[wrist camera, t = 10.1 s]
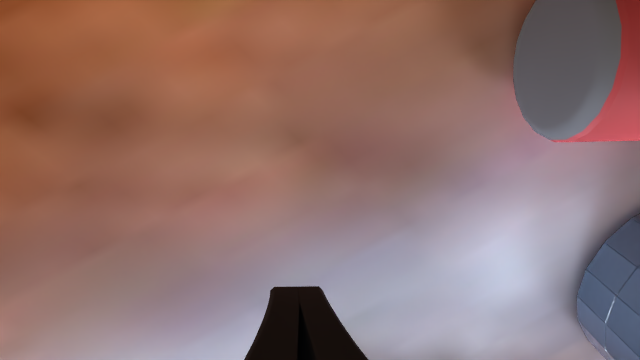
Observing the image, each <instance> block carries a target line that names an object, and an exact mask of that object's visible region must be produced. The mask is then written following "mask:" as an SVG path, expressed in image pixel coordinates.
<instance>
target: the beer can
mask: <svg viewBox="0 0 640 360" xmlns="http://www.w3.org/2000/svg"><path fill="white" fill-rule="evenodd" d="M513 82H514V89H515V95H516V100H517V102H518V105H519V107H520V110H521V112H522V115H523V117H524V119H525V120H526V121H527V122H528V124H529V125H530V126H531V127H532V129H533V130H534V131H535V132H536V133H538V134H540V135H541V136H543V137H545V138H547V139H549V140H551V141H553V142H594V141H637V140H640V0H536V1H535V3H534V4H533V6H532V8H531V9H530V11H529V13H528V15H527V17H526V18H525V20H524V22H523V25H522V28H521V31H520V34H519V37H518V40H517V45H516V50H515V56H514V67H513Z"/></svg>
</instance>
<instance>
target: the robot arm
mask: <svg viewBox="0 0 640 360" xmlns="http://www.w3.org/2000/svg"><path fill="white" fill-rule="evenodd" d="M244 360H368V359H367V357H366V356H365V355H364V354H363V352H362V351H361V350H360V349H359V347H358V346H357V345H356V343H355V342H354V341H353V339H352V338H351V336H350V335H349V333H348V332H347V331H346V329H345V328H344V326H343V325H342V323H341V322H340V320H339V319H338V317H337V315H336V314H335V312H334V311H333V309H332V307H331V306H330V304H329V302H328V300H327V298H326V296H325V294H324V292H323V290H322V289H321V288H320V287H319V286H318V287H274V288H273V289H272V290H270V298H269V303H268V306H267V310H266V313H265V315H264V318H263V321H262V323H261V326H260V328H259V330H258V333H257V335H256V337H255V340H254V342H253V344H252V346H251V348H250V350H249V351H248V353H247V355H246V357H245V359H244Z"/></svg>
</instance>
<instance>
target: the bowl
mask: <svg viewBox="0 0 640 360" xmlns="http://www.w3.org/2000/svg"><path fill="white" fill-rule="evenodd" d="M577 295H578V296H577V319H578V322H579V324H580V326H581V328H582V330H583V332H584V334H585V336H586V338H587V339H588V341H589V342H590V343H591V344H592V345H593V346H594V347H595V348H596V349H597V350H598V351H599V353H600V354H601V355H602V356H603V357H604V358H605V359H606V360H640V214H638V215H636V216H634V217H633V218H631V219H630V220H629V221H627V222H626V223H625V224H624V225H623V226H622V227H621V228H620V229H618V230H617V231H616V232H615V233H614V234H613V235H612V236H611V237H609V238H608V239H607V240H606V241H605V243H604V244H603V245H602V247H601V248H600V250H599V251H598V252H597V254H596V255H595V257H594V258H593V260H592V261H591V263H590V264H589V265H588V267H587V269H586V271H585V273H584V276H583V279H582V282H581V285H580V288H579V291H578V294H577Z"/></svg>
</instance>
